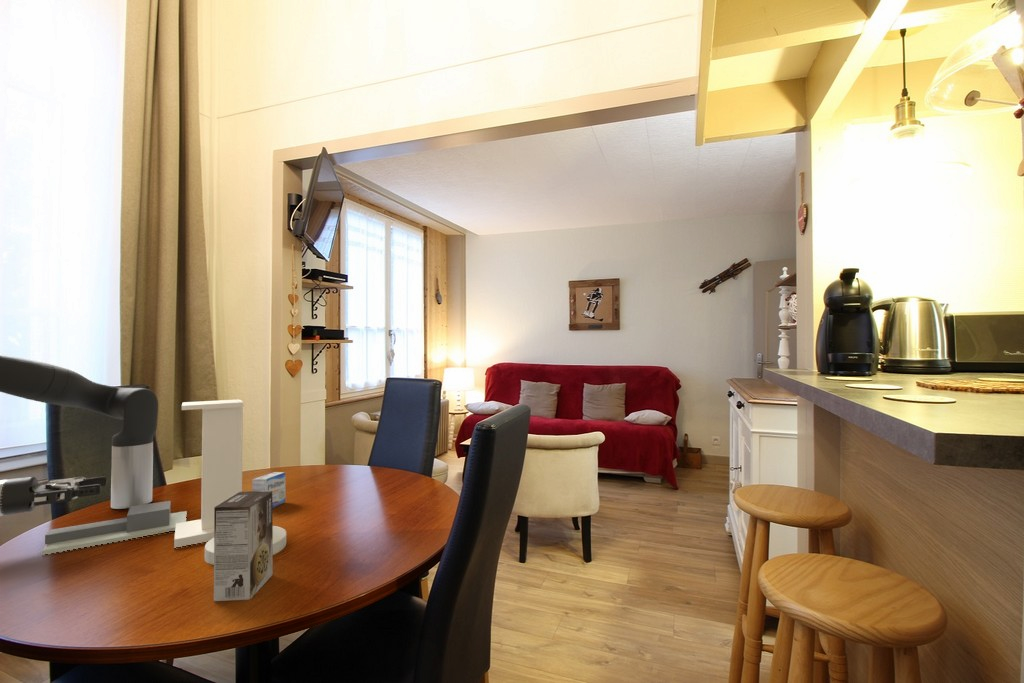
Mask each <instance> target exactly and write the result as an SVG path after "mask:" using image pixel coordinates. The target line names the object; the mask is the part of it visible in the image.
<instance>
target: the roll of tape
mask: <svg viewBox="0 0 1024 683" xmlns="http://www.w3.org/2000/svg"><path fill="white" fill-rule="evenodd" d="M286 545H287V530H286V529H284V528H283V527H280V526H277V525H273V555H276V554H278V553H279V552H281V551H282V550H284V548H286ZM204 561H205V563H207V564H209V565H212V566H214V538H212V539H211V540H209V541H208V542H206V543H205V545H204Z"/></svg>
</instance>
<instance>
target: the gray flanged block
mask: <svg viewBox="0 0 1024 683" xmlns="http://www.w3.org/2000/svg"><path fill="white" fill-rule="evenodd" d="M171 502H172V501H171V500H165V501H159V502H153V503H151V502H150V503H148V504H145V505H138V506H131V507H130V508H128V512H127V515H126V517H121V518H115V519H109V520H102V521H96V522H95V521H94V522H91V523H85V524H84V523H83V524H79V525H73V526H72V525H71V526H66V527H59V528H53V529H49V530H48V532H46V534H45V536H44V545H47V544H51V543H57V542H63V541H68V540H74V539H80V538H86V537H92V536H97V535H103V534H109V533H115V532H120V531H126V530H127V533H129V532H134V531H140V530H146V529H151V528H157V527H163V526H168V525H169V523H170V514H171V506H172V505H171Z"/></svg>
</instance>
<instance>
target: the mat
mask: <svg viewBox="0 0 1024 683" xmlns="http://www.w3.org/2000/svg"><path fill="white" fill-rule="evenodd" d="M187 512H188V511H187V510H184V511H178V512H170V523H169V525H168V526H163V527H157V528H151V529H146V530H140V531H134V532H129V533H127V530H126V531H120V532H115V533H109V534H103V535H97V536H92V537H86V538H80V539H74V540H68V541H63V542H57V543H51V544H45V547H44V548H43V549H42V551H41V556H42V555H43V556H46V555H45V554H48V555H52V554H51V553H54V554H57V553H56V552H59V553H64V552H63V551H65V552H68V551H67V550H70V551H74V550H73V549H76V550H79V549H78V548H81V549H85V548H84V547H87V548H91V547H90V546H92V547H96V546H95V545H98V546H102V545H101V544H103V545H107V543H109V544H113V543H112V542H114V543H119V542H118V541H120V542H124V541H123V540H125V541H129V540H128V539H131V540H133V539H132V538H136V539H138V538H137V537H142V538H144V537H143V536H147V535H153V534H158V533H164V532H169V531H175V528H176V523H182V522H187V518H186V517H187V516H188V514H187ZM169 533H170V532H169ZM164 534H165V533H164ZM158 535H159V534H158ZM153 536H154V535H153ZM147 537H148V536H147Z"/></svg>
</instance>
